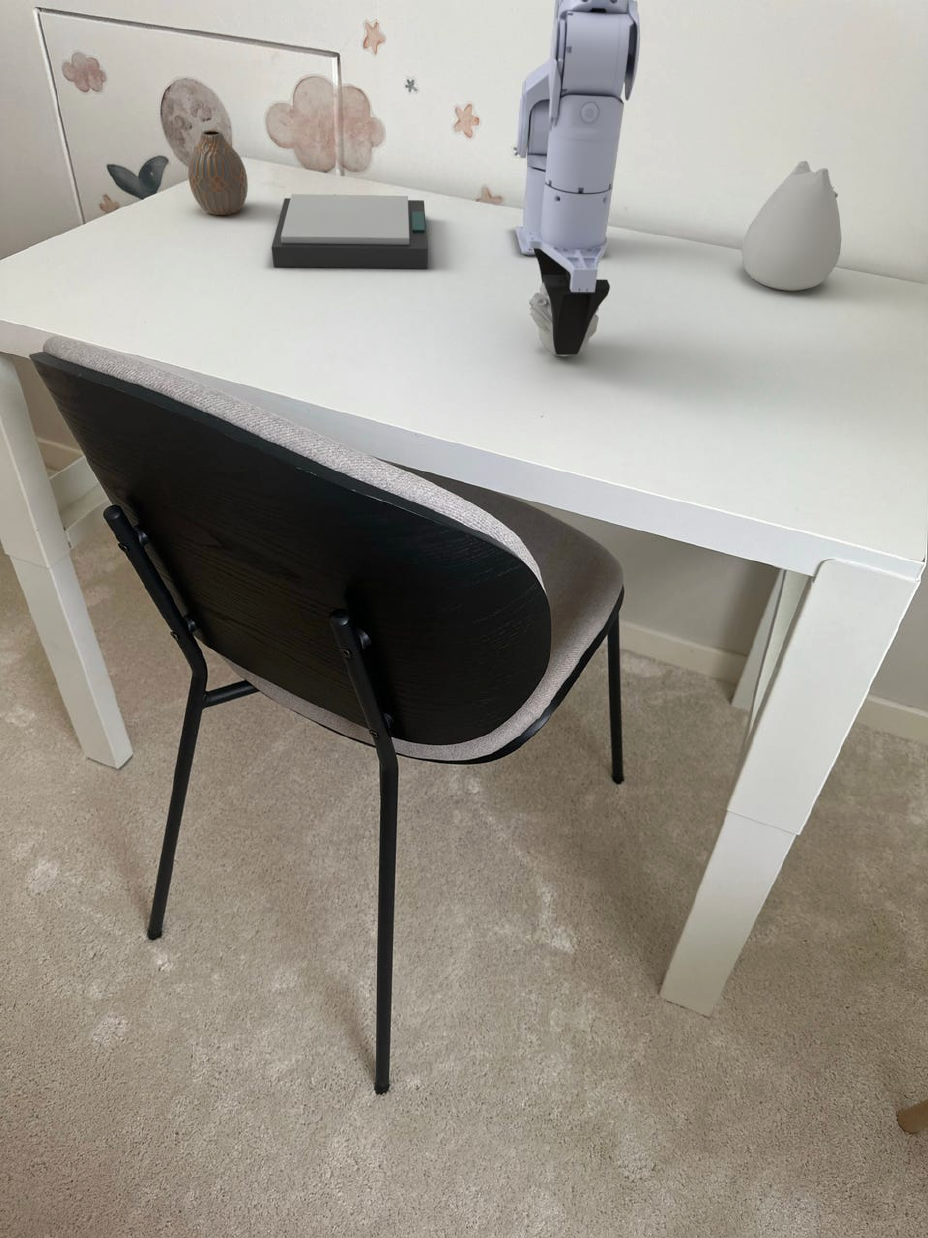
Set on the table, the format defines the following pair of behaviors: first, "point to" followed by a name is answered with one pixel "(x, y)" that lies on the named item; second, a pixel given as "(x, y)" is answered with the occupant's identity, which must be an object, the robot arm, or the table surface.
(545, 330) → the frog figurine
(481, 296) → the table surface
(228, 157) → the vase
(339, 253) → the scale
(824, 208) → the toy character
